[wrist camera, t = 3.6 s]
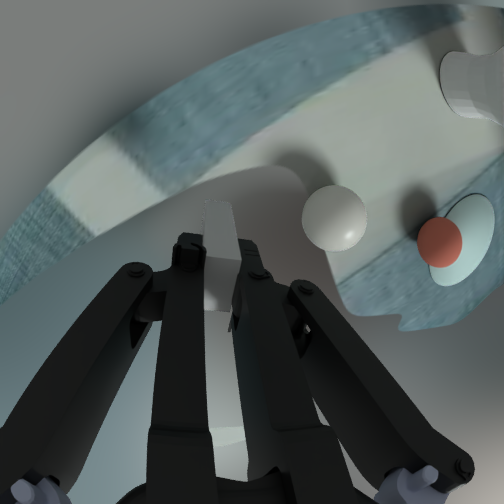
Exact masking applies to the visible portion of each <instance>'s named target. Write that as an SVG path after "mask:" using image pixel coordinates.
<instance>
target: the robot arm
mask: <svg viewBox="0 0 504 504" xmlns="http://www.w3.org/2000/svg"><path fill="white" fill-rule="evenodd" d="M231 305H232V308H233V312H232V316H231V320H230V324H229V328H228V332H230V331H231V328H232V335H233V336H232V337H233V345H234V354H235V361H236V370H237V378H238V386H239V394H240V401H241V409H242V416H243V423H244V430H245V437H246V444H247V451H248V458H249V463H248V470H247V471H248V472H247V476H248V482H242V481H236V480H230V479H225V478H220V477H216V474H215V463H214V452H213V442H212V436H211V433H210V431H209V427H208V413H207V394H206V373H205V339H204V338H205V336H204V310H214V311H224V312H230V309H231ZM161 320H162V325H161V332H160V339H159V347H158V355H157V364H156V372H155V382H154V392H153V405H152V417H151V426H150V428H149V432H148V443H147V472H146V483H144V484H142V485H139V486H137V487H135V488H134V489H132V490H131V491H129V492H128V493H127V494H126V495H125V496H124V497H122V499H120V500H119V501H118V502H117V503H116V504H444V503H445V501H446V499H447V497H448V495H449V493H451V492H452V491H454V490H456V489H458V488H460V487H462V486H463V485H465V484H467V483H468V482H469V481H470V480H471V479H472V477H473V475H474V470H475V467H474V462H473V460H472V457H471V456H470V455H469V454H468V453H467V452H465V451H464V450H462V449H461V448H459V447H458V446H457V445H455V444H454V443H453V442H451V441H450V440H448V439H447V438H446V437H444V436H443V435H442V434H440V433H439V432H437V431H436V430H435V429H433V428H432V426H431V425H430V424H429V423H428V421H427V420H426V419H425V417H424V416H423V415H422V414H421V412H420V411H419V410H418V408H417V407H416V406H415V404H414V403H413V402H412V401H411V400H410V398H409V397H408V395H407V394H406V393H405V392H404V390H403V389H402V388H401V387H400V386H399V384H398V383H397V382H396V380H395V379H394V378H393V377H392V376H391V374H390V373H389V372H388V370H387V369H386V368H385V367H384V366H383V364H382V363H381V362H380V361H379V359H378V358H377V357H376V356H375V354H374V353H373V352H372V351H371V350H370V349H369V347H368V346H367V345H366V343H365V342H364V341H363V340H362V339H361V338H360V336H359V335H358V334H357V333H356V331H355V330H354V329H353V328H352V327H351V325H350V324H349V323H348V322H347V321H346V319H345V318H344V317H343V316H342V315H341V314H340V312H339V311H338V310H337V309H336V308H335V306H334V305H333V304H332V303H331V302H330V301H329V299H328V298H327V297H326V296H325V295H324V293H323V292H322V291H321V290H320V289H319V288H318V287H317V286H316V285H315V284H313V283H311V282H310V281H306V280H299V279H298V280H294V281H293V282H292V283H291V285H290V287H288V286H286V285H282V284H279V283H276V282H275V281H274V279H273V277H272V275H271V273H270V272H269V271H267V270H266V269H264V267H263V264H262V261H261V258H260V255H259V252H258V248H257V245H256V244H254V243H253V242H252V241H251V240H244V239H237V234H236V229H235V224H234V218H233V213H232V208H231V203H229V202H222V201H215V200H208V199H206V202H205V207H204V213H203V220H202V226H201V233H200V234H193V233H184V232H183V233H182V234H181V235H180V236H179V237H178V241H177V243H176V244H175V245H174V246H173V253H172V265H171V267H170V268H168V269H167V270H164V271H158V272H153V270H152V268H151V267H150V266H149V265H147V264H145V263H140V262H131V263H128V264H125V265H124V266H122V267H121V268H120V269H119V270H118V272H117V273H116V274H115V275H114V276H113V277H112V278H111V279H110V280H109V282H108V283H107V284H106V285H105V286H104V287H103V288H102V290H101V291H100V292H99V293H98V294H97V296H96V297H95V298H94V299H93V300H92V301H91V303H90V304H89V305H88V306H87V308H86V309H85V310H84V311H83V312H82V314H81V315H80V316H79V317H78V319H77V320H76V321H75V322H74V324H73V325H72V326H71V327H70V329H69V330H68V331H67V333H66V334H65V335H64V336H63V338H62V339H61V340H60V342H59V343H58V344H57V346H56V347H55V348H54V350H53V351H52V352H51V354H50V355H49V356H48V358H47V359H46V361H45V362H44V363H43V365H42V366H41V368H40V369H39V371H38V372H37V373H36V375H35V376H34V378H33V379H32V381H31V382H30V384H29V385H28V387H27V388H26V390H25V391H24V393H23V395H22V396H21V398H20V399H19V401H18V402H17V404H16V405H15V407H14V409H13V410H12V412H11V414H10V415H9V417H8V419H7V420H6V422H5V424H4V425H3V427H1V428H0V504H72V503H71V501H70V499H69V498H68V496H67V495H66V494H67V493H68V492H69V491H70V489H71V488H72V486H73V485H74V483H75V482H76V480H77V478H78V476H79V475H80V473H81V471H82V468H83V466H84V464H85V461H86V459H87V457H88V454H89V452H90V450H91V448H92V445H93V443H94V441H95V438H96V436H97V434H98V432H99V430H100V428H101V425H102V423H103V421H104V419H105V417H106V415H107V413H108V410H109V408H110V406H111V404H112V402H113V400H114V398H115V396H116V394H117V392H118V390H119V388H120V386H121V384H122V382H123V380H124V378H125V376H126V374H127V372H128V370H129V368H130V366H131V364H132V362H133V360H134V358H135V356H136V354H137V352H138V351H139V349H140V347H141V345H142V343H143V341H144V339H145V337H146V336H147V334H148V332H149V330H150V328H151V326H152V322H153V321H161ZM307 325H308V327H309V328H310V330H311V331H310V332H308V331H307V329H306V326H307ZM312 397H313V398H312ZM313 399H314V401H315V402H316V404H317V405H318V407H319V409H320V410H321V412H322V413H323V415H324V416H325V418H326V420H327V421H328V423H329V425H330V426H331V427H330V426H327V425H323V424H322V423H321V422H320V420H319V417H318V414H317V411H316V408H315V405H314V402H313ZM338 439H339V441H340V442H341V444H342V446H343V447H344V449H345V450H346V452H347V453H348V455H349V457H350V458H351V460H352V461H353V463H354V464H355V466H356V467H357V469H358V470H359V471H360V473H361V474H362V476H363V477H364V478H365V479H366V480H367V481H368V482H369V483H370V484H371V485H372V486H373V487H374V488H375V489H377V490H378V491H379V492H378V493H377V494H376V495H375V497H374V500H373V499H371V498H370V497H368V496H367V495H365V494H363V493H362V492H361V491H359V490H358V489H356V488H355V487H353V484H352V481H351V477H350V475H349V471H348V468H347V465H346V462H345V459H344V456H343V453H342V450H341V447H340V444H339V441H338Z"/></svg>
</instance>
